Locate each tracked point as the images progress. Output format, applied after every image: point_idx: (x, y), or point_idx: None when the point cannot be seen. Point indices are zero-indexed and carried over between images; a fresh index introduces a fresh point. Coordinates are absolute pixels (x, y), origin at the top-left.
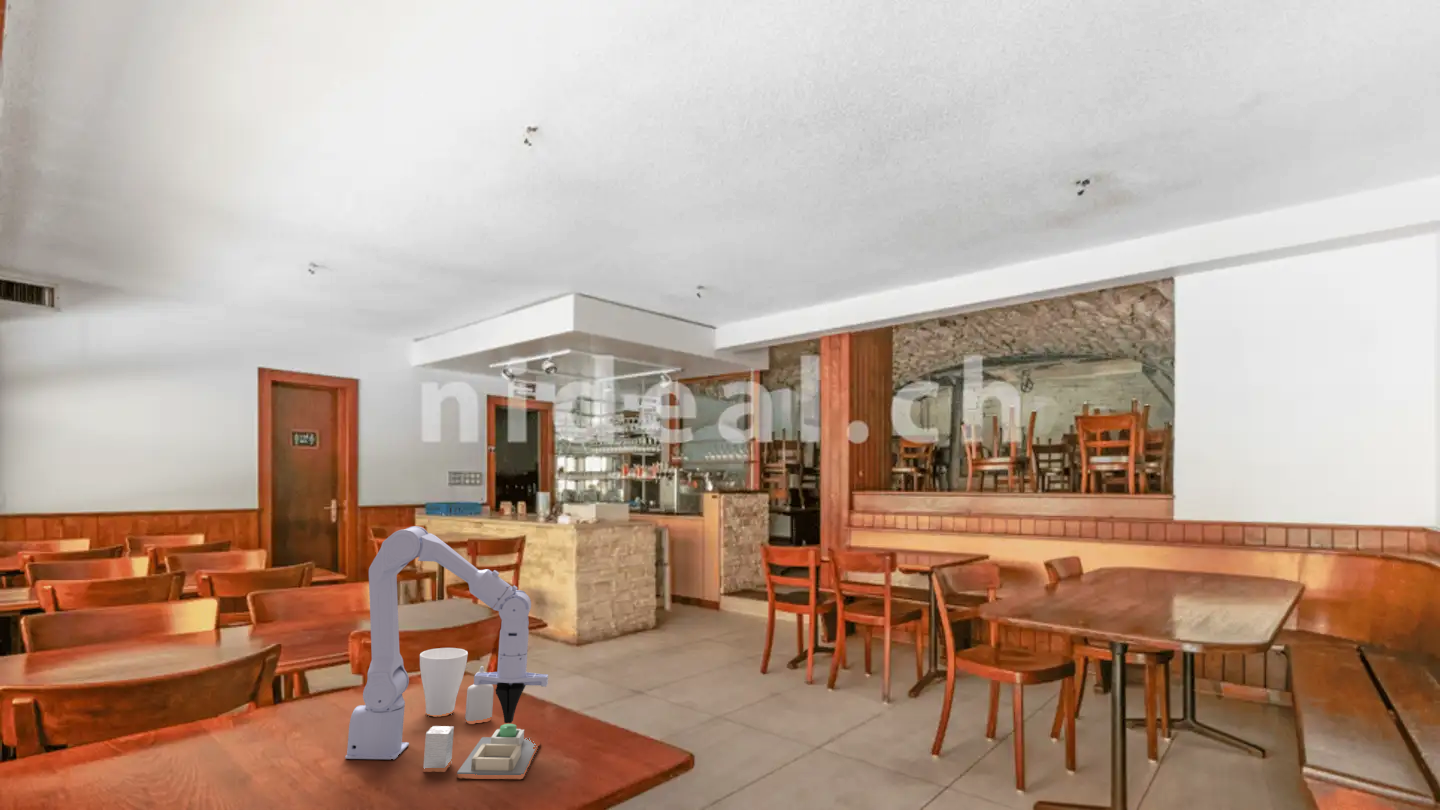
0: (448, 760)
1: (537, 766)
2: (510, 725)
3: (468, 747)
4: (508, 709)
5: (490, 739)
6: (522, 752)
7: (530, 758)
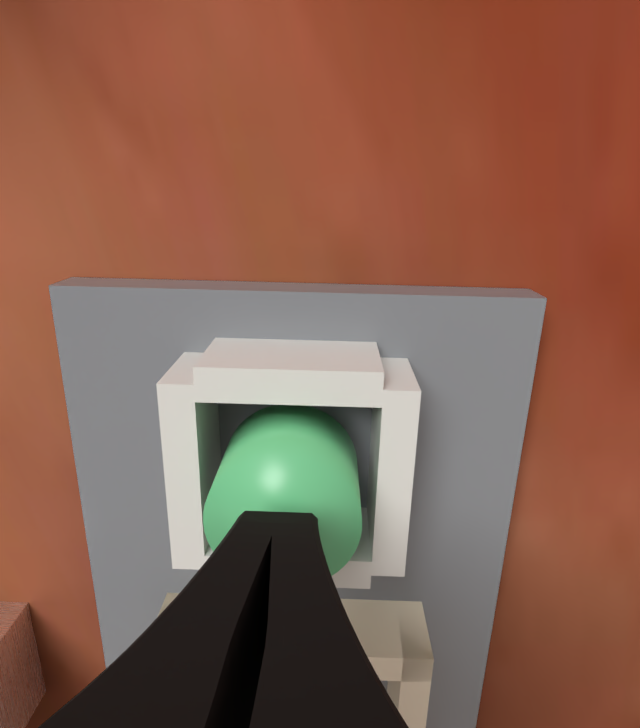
0: (13, 691)
1: (520, 631)
2: (297, 502)
3: (11, 360)
4: (252, 702)
5: (135, 338)
6: (426, 568)
7: (487, 648)
